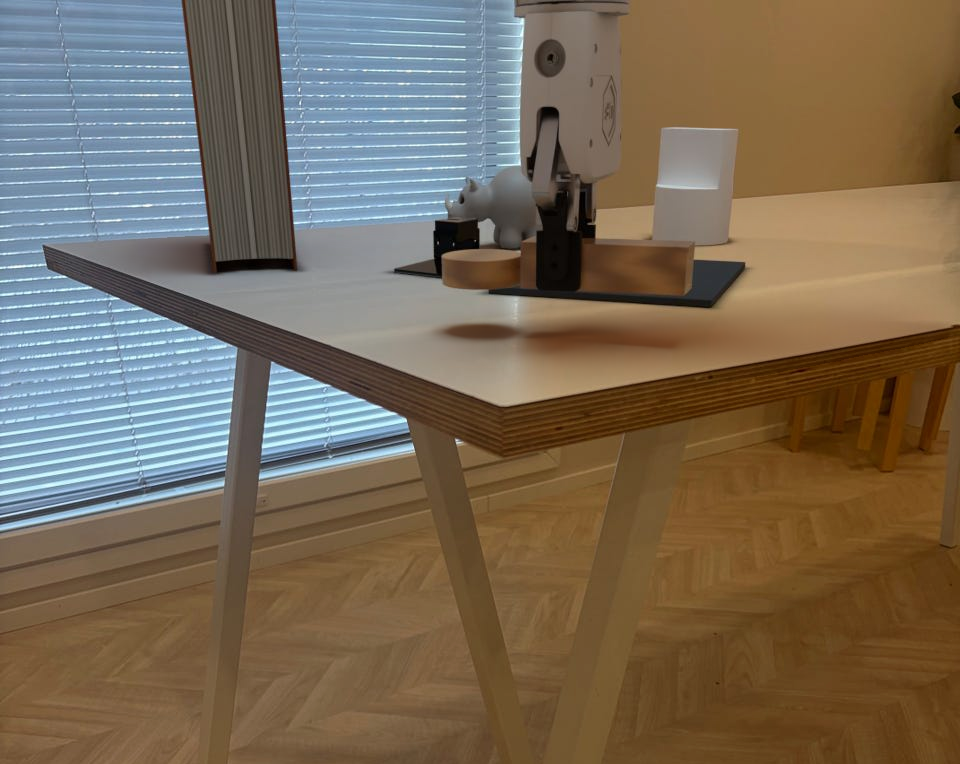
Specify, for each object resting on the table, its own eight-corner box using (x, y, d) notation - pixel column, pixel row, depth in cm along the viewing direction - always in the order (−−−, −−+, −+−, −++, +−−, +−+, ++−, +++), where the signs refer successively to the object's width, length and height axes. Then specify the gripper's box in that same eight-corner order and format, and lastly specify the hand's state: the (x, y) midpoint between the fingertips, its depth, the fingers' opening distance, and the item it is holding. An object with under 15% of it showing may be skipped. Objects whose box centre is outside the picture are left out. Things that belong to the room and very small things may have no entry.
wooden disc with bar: (695, 285, 75) (698, 238, 74) (680, 299, 70) (683, 250, 69) (459, 274, 81) (458, 231, 79) (430, 287, 76) (428, 241, 74)
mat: (745, 268, 105) (745, 261, 105) (711, 307, 87) (711, 300, 86) (556, 258, 111) (557, 252, 111) (488, 293, 93) (488, 286, 92)
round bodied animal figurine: (440, 244, 121) (439, 164, 117) (540, 241, 123) (542, 163, 118) (450, 253, 114) (448, 169, 110) (554, 249, 116) (557, 167, 112)
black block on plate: (463, 257, 112) (463, 212, 110) (519, 263, 109) (520, 216, 106) (392, 271, 103) (391, 222, 101) (452, 279, 100) (452, 227, 97)
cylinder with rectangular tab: (742, 239, 123) (754, 128, 118) (700, 247, 118) (711, 131, 112) (679, 233, 129) (688, 126, 123) (636, 240, 123) (644, 128, 117)
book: (297, 270, 104) (267, -89, 90) (215, 273, 103) (171, -93, 88) (279, 240, 124) (253, -59, 109) (210, 243, 122) (174, -61, 108)
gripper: (596, -22, 59) (586, 309, 67) (654, -5, 72) (639, 270, 81) (473, -16, 61) (479, 304, 70) (552, 0, 74) (548, 266, 83)
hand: (565, 283), depth 75 cm, fingers closed on wooden disc with bar, 3 cm apart
